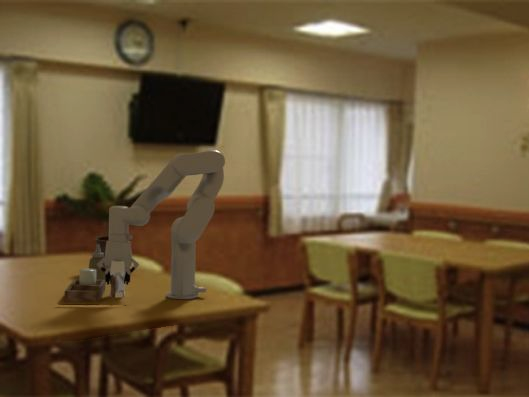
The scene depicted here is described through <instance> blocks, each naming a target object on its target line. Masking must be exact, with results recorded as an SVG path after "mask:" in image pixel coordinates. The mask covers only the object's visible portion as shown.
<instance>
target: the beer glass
mask: <svg viewBox="0 0 529 397" xmlns="http://www.w3.org/2000/svg"><path fill="white" fill-rule="evenodd" d="M126 275H127V271H126V267H125V264H124V261H112V262H111V267H110V268H109V279H110V283H109V285H110V294H109V297H111V298H124V297H125V298H126V292H125V291H126V290H125V288H126Z"/></svg>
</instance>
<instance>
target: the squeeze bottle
mask: <svg viewBox="0 0 529 397" xmlns="http://www.w3.org/2000/svg"><path fill="white" fill-rule="evenodd" d="M91 256H92V257H91V258H90V259H89V263H88V269H96V280H105V275H106V274H105V273H104V272H103V271H102V270H101V269H100V268H99V267H98V265H97V264H98V262H100V261H101V260H102V259H103V257H104V253H101V249H100V244H97V243H96V246H95V250H94V252H92V253H91ZM102 265H103V267H105V268H106V269H107V267H106V266H105V262H104V263H102Z"/></svg>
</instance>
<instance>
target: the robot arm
mask: <svg viewBox="0 0 529 397" xmlns="http://www.w3.org/2000/svg"><path fill="white" fill-rule="evenodd" d="M225 164H226V158H225V156H224V155H223V153H222V152H221V151H219V150H216V149H215V150H214V149H207V150H205V151H200V152H191V153H189V152H188V153H182V152H181V153H177V154H176V155H174V157H172V159H171V160H169V162H168V164H166V165H165V167H164V168H163V169H162V171H160V173H159V174H158V175H157V176H156V177H155V178H154V179H153V181H152V182H150V184H149V185H148V186H147V188H146V189H145V190H144V191H143V192H142V193H141V194H140V196H139V197H137V199H136V200H135V201H134V202H133V204H132V205H131V206H130V207H128V206H125V205H113V206H112V205H111V207H110V208H109V210H108V211H109V212H108V213H109V214H108V236H109V241H107V243H106V250H105V257H104V258H103V259H102V260H101V261H100V262H98V264H97V265H98V267H99V268H100V269H101V270H102V271H103V272H104V273H105V274H106V275H105V282H106V286H107V285H110V279H109V268H110V267H111V262H112V261H124V264H125V267H126V271H127V275H126V283H125V285H127V286H128V285H129V283H131V274H132V273H133V272H134V271H135V270H136V269H137V268H138V267H139V265H140V263H139V262H137V261H136V260H135V259H134V258H133V254H132V253H133V252H132V251H133V250H132V243H131V242H132V241H131V240H133V235H131V234H130V233H129V231H130V225H131V226H135V227H137V226H138V227H139V226H140V227H141V226H142V227H143V226H144V225H146V224H148V223H149V221H150V219H151V212H152V211H153V210H154V209H155V207H157V206H158V204H159V203H161V202H162V201H163V200H165V199H167V198H168V197H170V195H172V193H173V192H175V190H176V189H177V187H178V186H180V184H181V183H182V182H183V181H184V179H185V178H186V177H188V176H196V175H202V177H201V179H200V181H199V183H198V185H197V187H196V189H195V190H194V191H193V193H192V194H191V196H190V197H189V199H188V200H187V203H186V212H185V214H184V215H183V216H181V217H178V218H176V220H174V221H173V222H172V225H171V228H170V229H171V230H170V239H171V240H170V241H171V257H170V258H171V260H170V261H171V262H170V263H171V265H170V291H168V292H166V297H167V298H169V299H174V300H192V299H193V300H194V299H196V298H198V297H199V293H207V287H203V286H197V285H196V257H197V255H196V254H197V253H196V252H197V251H196V248H197V247H196V246H197V244H196V242H197V241H198V240H199V239H200V238H201V236H202V234H203V232H204V231H205V229H206V228H207V226H208V224H209V222H210V221H211V219H212V218H213V216H214V214H215V208H216V207H215V200H216V199H217V197H218V194H219V193H220V191H221V190H222V189H221V188H222V186H223V184H224V180H225V172H224V167H225ZM129 239H131V240H130V241H129ZM104 262H105V266H106V267H107V269H106V268H105V267H103V265H102V263H104ZM132 264H133V266H132ZM130 267H131V268H130Z"/></svg>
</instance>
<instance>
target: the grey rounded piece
mask: <svg viewBox="0 0 529 397" xmlns="http://www.w3.org/2000/svg"><path fill="white" fill-rule="evenodd" d="M78 278H79V279H78V280H79V285H96V269H89V268H80V269H79V277H78Z"/></svg>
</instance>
